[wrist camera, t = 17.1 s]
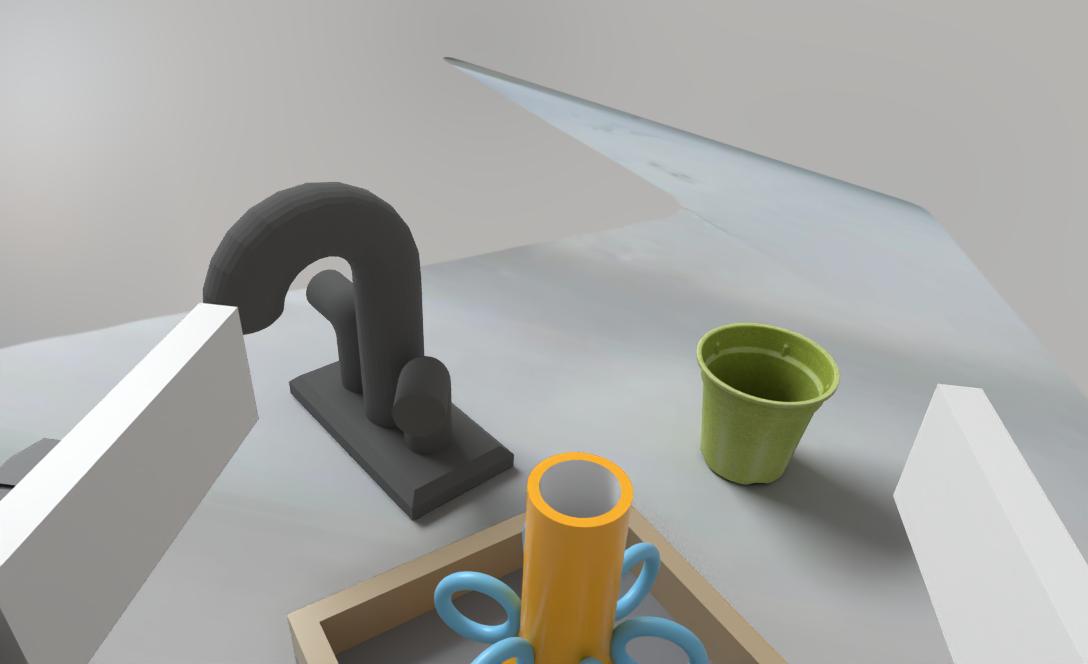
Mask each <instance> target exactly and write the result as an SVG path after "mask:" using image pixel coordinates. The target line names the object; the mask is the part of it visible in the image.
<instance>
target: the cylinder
mask: <svg viewBox="0 0 1088 664" xmlns="http://www.w3.org/2000/svg"><path fill="white" fill-rule="evenodd" d="M632 499H633V487H632V484H631V481H630V479H629V478H628V476H627V475H626V473H625V472H624V471H623V470H622V469H621V468H620V467H619V466H617V465H616V464H614V463H613V462H611V461H609V460H607V459H605V458H603V457H600V456H597V455H593V454H588V453H579V452H571V453H563V454H558V455H555V456H552V457H550V458H547V459H545V460H544V461H542V462H541V463H539V464H538V465H537V466H536V467H535V468H534V469H533V470H532V472H531V474H530V476H529V478H528V483H527V502H526V521H525V523H524V526H523V535H522V540H523V552H524V562H523V581H522V600H520V599H519V597H518V596H517V594H516V593H515V592H514V591H513V590H512V589H511V588H510V587H508V586H507V585H506V584H504V583H503V582H501V581H500V580H498V579H496V578H494V577H492V576H489V575H486V574H483V573H479V572H471V571H463V572H457V573H453V574H451V575H449V576H447V577H445V578H444V579H443V580H442V581H441V582H440V583H439V584H438V586H437V588H436V590H435V594H434V603H435V607H436V610H437V612H438V614H439V616H440V617H441V619H442V620H443V621H444V622H445V623H446V625H448V626H449V627H450V628H451V629H452V630H454V631H455V632H456V633H458V634H460V635H461V636H463V637H465V638H468V639H470V640H473V641H476V642H480V643H486V644H493V645H492V646H490V647H489V648H487V649H486V650H485V651H483V652H482V653H481V654H480V655H479V656H478V657H477V658H476V659H475V660H474V661H473V662H472V663H471V664H639V663H638V662H636V661H635V660H634V659H632V658H631V657H630V655H629V654H628V653H627V650H626V644H627V643H628V642H629V641H630V640H631V639H634V638H637V637H642V636H653V637H659V638H663V639H666V640H668V641H671V642H673V643H675V644H676V645H678V646H679V647H681V648H682V649H683V650H684V651H685V652H686V653H687V655H688V657H689V663H688V664H708V657H707V653H706V650H705V648H704V646H703V644H702V643H701V641H700V640H699V639H698V638H697V637H696V636H695V635H694V634H693V633H692V632H691V631H690V630H688V629H687V628H685V627H684V626H682V625H680V624H678V623H676V622H673V621H670V620H667V619H663V618H659V617H649V616H644V617H636V618H631V619H628V620H626V621H624V622H622V623H620V624H619V625H618V626H617V627H615V629H614V622H616V621H619V620H621V619H622V618H624V617H626V616H627V615H628V614H630V613H631V612H632V611H633V610H634V609H635V608H636V607H637V606H638V605H639V604H640V603H641V602H642V600H643V599H644V598H645V596H646V595H647V594H648V592H649V591H650V589H651V587H652V586H653V584H654V582H655V580H656V577H657V575H658V572H659V568H660V562H661V559H660V553H659V551H658V549H657V548H656V547H655V546H654V545H652V544H650V543H638V544H635V545H633V546H631V547H630V548H628V549H627V550H625V546H626V540H627V533H628V526H629V520H630V513H631V506H632ZM642 560H644V565H643V568H642V571H641V573H640V575H639V577H638V579H637V580H636V582H635V583H634V585H633V586H632V588H631V589H630V590H629V591H628V592H627V593H626V594H625V595H624V596H623V597H622V598H621V599H620V600H619V601H618V594H619V587H620V581H621V579H622V578H623V577H624V575H625V574H626V573H627V572H628V571H629V570H630V569H631V568H632V567H633V566H635V565H636V564H637V563H639V562H640V561H642ZM460 590H474V591H478V592H481V593H484V594H486V595H488V596H490V597H492V598H494V599H495V600H496V601H498V602H499V603H500V604H501V605H502V606H503V607H504V609H505V610H506V612H507V614H508V620H507V622H505V623H504V624H502V625H497V626H487V625H482V624H479V623H476V622H473V621H471V620H469V619H468V618H466V617H465V616H463V615H462V614H461V613H460V612H459V611H458V610H457V609H456V608H455V607H454V605H453V603H452V600H451V596H452V594H453V593H455V592H457V591H460Z"/></svg>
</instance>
